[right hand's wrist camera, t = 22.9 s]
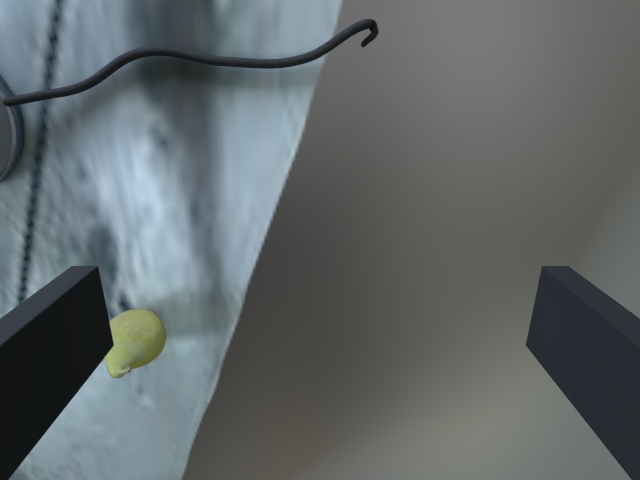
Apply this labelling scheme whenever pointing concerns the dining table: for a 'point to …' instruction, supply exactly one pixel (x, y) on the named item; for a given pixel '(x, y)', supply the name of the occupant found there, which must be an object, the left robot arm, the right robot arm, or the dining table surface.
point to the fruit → (134, 341)
